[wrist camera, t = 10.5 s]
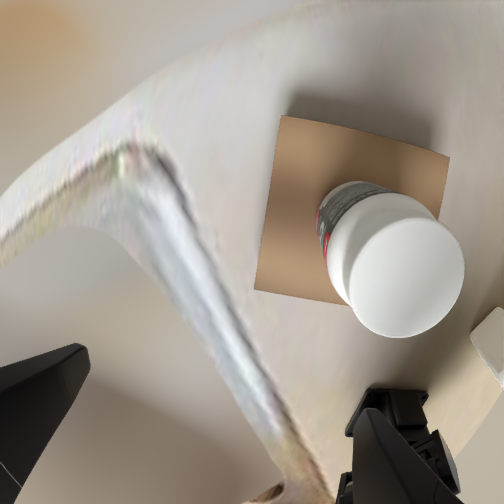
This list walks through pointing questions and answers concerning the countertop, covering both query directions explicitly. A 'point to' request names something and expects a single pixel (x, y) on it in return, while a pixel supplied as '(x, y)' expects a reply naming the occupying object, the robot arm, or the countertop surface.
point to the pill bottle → (389, 258)
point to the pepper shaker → (491, 342)
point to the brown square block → (320, 185)
